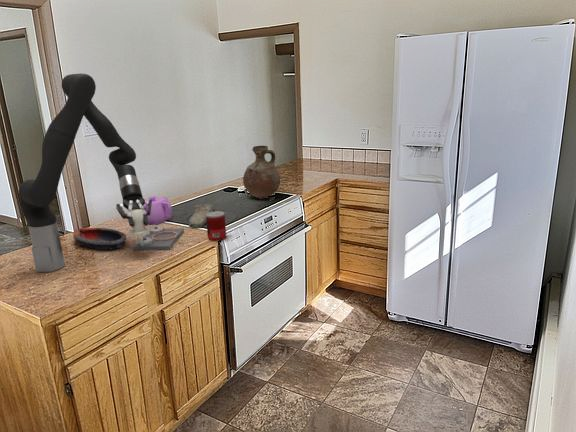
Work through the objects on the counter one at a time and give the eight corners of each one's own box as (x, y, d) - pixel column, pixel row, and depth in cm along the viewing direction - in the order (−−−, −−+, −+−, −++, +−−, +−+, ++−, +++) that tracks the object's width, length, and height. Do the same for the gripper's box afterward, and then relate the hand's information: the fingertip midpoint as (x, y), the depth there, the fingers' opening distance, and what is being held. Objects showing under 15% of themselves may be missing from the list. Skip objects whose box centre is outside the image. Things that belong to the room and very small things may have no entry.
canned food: (229, 237, 190) (228, 213, 187) (215, 242, 185) (213, 217, 182) (218, 233, 195) (217, 210, 192) (204, 238, 190) (202, 214, 187)
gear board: (169, 249, 178) (168, 241, 177) (133, 250, 178) (132, 242, 177) (184, 231, 200) (183, 224, 199) (151, 232, 200) (150, 224, 199)
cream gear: (146, 237, 166) (143, 213, 164) (125, 237, 166) (122, 213, 164) (152, 230, 174) (150, 207, 171) (133, 231, 174) (130, 208, 171)
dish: (104, 256, 173) (102, 244, 172) (64, 242, 191) (62, 231, 189) (137, 244, 185) (136, 233, 184) (96, 232, 203) (95, 222, 201)
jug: (237, 197, 259) (234, 146, 250) (265, 191, 272) (263, 143, 263) (259, 204, 243) (256, 150, 234) (288, 197, 256) (286, 145, 248)
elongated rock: (184, 232, 204) (205, 232, 204) (183, 221, 202) (205, 222, 202) (197, 208, 237) (216, 208, 237) (197, 199, 235) (215, 199, 235)
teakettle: (140, 227, 208) (137, 202, 204) (134, 218, 222) (131, 195, 219) (176, 222, 215) (173, 197, 211) (168, 213, 230) (165, 191, 226)
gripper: (111, 185, 168) (120, 223, 161) (149, 181, 174) (159, 217, 167) (111, 196, 174) (119, 233, 167) (147, 192, 180) (157, 227, 173)
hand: (139, 225), depth 167 cm, fingers closed on cream gear, 4 cm apart
